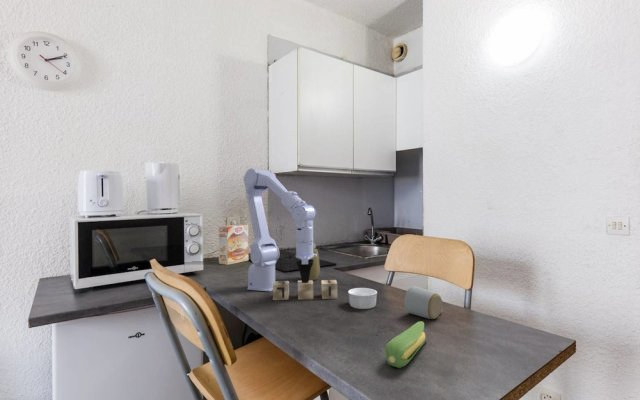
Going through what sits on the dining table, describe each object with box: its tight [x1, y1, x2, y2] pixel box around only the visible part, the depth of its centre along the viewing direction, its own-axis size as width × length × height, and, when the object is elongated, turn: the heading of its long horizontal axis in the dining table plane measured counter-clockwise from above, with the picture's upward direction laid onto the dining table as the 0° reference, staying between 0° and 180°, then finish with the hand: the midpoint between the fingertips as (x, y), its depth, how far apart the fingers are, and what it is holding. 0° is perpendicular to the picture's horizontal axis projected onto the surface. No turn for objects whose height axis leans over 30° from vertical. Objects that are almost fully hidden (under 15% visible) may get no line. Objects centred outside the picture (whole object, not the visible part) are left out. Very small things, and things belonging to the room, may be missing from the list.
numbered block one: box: [320, 279, 338, 300], centre depth 113 cm, size 5×5×5 cm
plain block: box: [297, 280, 314, 300], centre depth 112 cm, size 5×5×5 cm
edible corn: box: [384, 321, 427, 369], centre depth 71 cm, size 5×20×5 cm
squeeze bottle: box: [309, 243, 321, 281], centre depth 137 cm, size 8×8×18 cm
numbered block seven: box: [272, 280, 290, 301], centre depth 112 cm, size 5×5×5 cm
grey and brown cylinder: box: [403, 285, 443, 320], centre depth 94 cm, size 11×8×8 cm
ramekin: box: [347, 287, 378, 310], centre depth 103 cm, size 9×9×4 cm
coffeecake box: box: [218, 223, 249, 266], centre depth 177 cm, size 15×7×20 cm, turn 147°
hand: (305, 281), depth 112 cm, fingers closed
